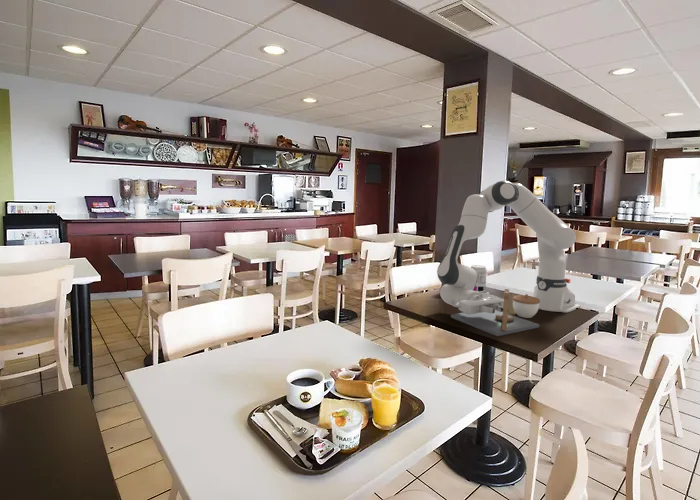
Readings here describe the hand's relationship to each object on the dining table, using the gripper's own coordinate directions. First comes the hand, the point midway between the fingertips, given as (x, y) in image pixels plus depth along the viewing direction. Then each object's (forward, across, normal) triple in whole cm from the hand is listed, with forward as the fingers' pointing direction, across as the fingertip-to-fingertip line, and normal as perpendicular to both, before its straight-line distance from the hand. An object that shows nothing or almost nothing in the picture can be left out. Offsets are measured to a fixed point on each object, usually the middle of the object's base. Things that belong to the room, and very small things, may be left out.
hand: (497, 310), depth 155 cm
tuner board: (-8, +7, +8) cm, 13 cm away
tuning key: (-1, +6, +6) cm, 9 cm away
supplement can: (-43, +33, +8) cm, 55 cm away
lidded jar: (-8, +26, +8) cm, 29 cm away
